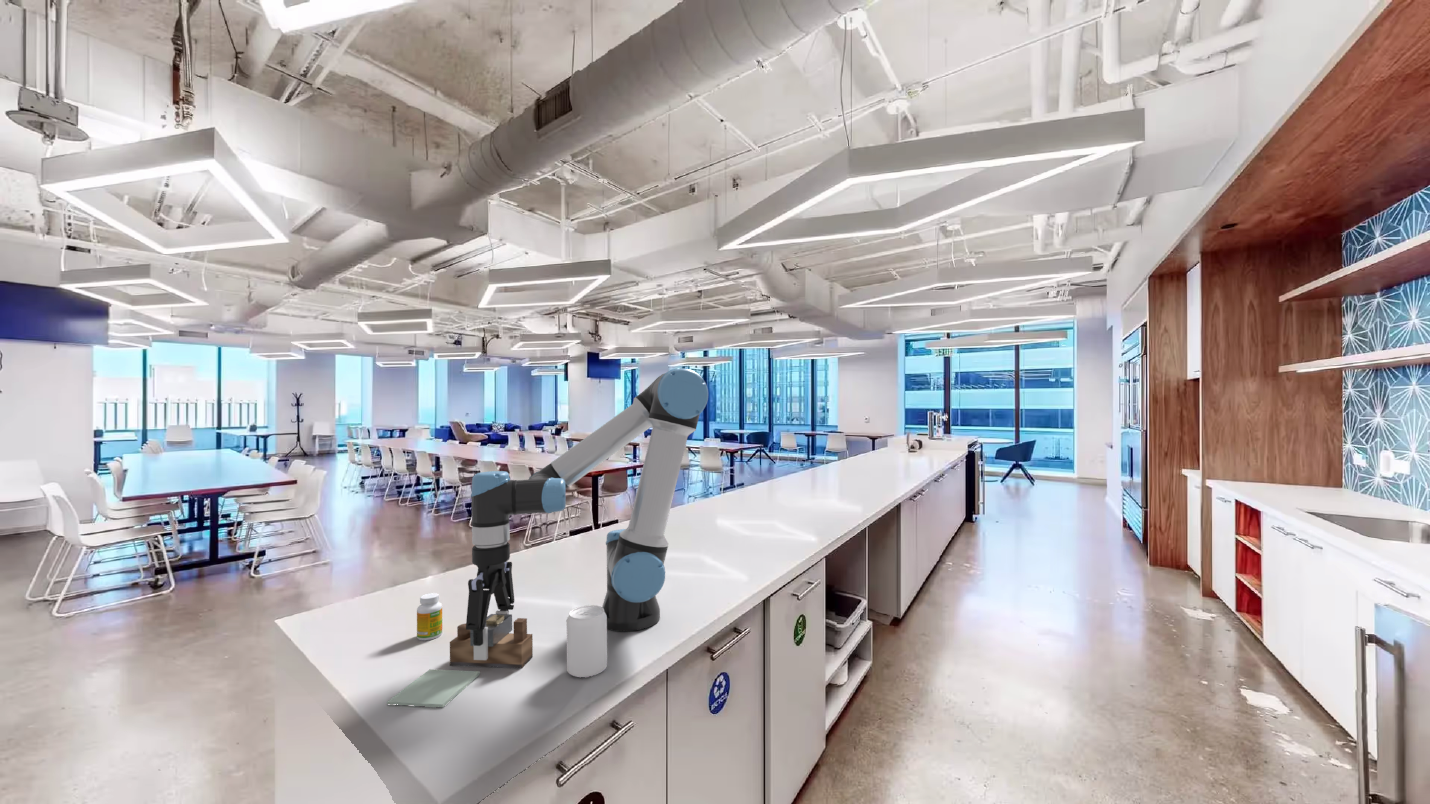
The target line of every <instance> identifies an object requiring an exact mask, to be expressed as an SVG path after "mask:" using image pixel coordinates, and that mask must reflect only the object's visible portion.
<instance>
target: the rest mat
mask: <svg viewBox="0 0 1430 804" xmlns="http://www.w3.org/2000/svg"><path fill="white" fill-rule="evenodd" d="M479 676H481V672H480V671H479V670H478V671H477V670H457V669H456V670H452V669H431V668H430V669H428V670H427V671H425V672H424V673H422V674H421V675H420V676H419V677H418V678H416V679H415V680H414V681H413V682H412V683H410V684H408V685H407V686H406V687H405V688H403V689H402V690H401V691H399V692H398V693H396V694H395V695H394V696H393V697H391V698H390V699H389V700H388V701H387V702H386V705H387V704H396V705H397V704H398V705H414V706H413V707H415V706H425V707H424V708H436V707H443V708H445V707H446V706H447V705H448V704H449V703H450V702H451V701H452V700H453V699H454V698H456V697H457V696H458V695H459V694H460V693H461V692H462V691H463V690H464V689H465V688H466V686H467V687H468V686H469V685H470V684H471V683H473V681H474V680H475V679H476V678H479ZM456 695H457V696H456ZM451 699H452V700H451ZM449 701H450V702H449ZM448 702H449V703H448ZM447 703H448V704H447ZM446 704H447V705H446ZM445 705H446V706H445ZM444 706H445V707H444Z"/></svg>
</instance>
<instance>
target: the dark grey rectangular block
mask: <svg viewBox="0 0 1430 804" xmlns="http://www.w3.org/2000/svg"><path fill="white" fill-rule="evenodd" d="M485 627H488V646H490V647H493V646H494V645H496V644H497V643H498V642H499V641H500V640H501V639H503V638H504V637H505V636H506V635H507V634H508V633H511V632H513V614H510V613H509V614H496V613H490V614H488V615H487V619H486V624H485ZM470 646H474V644H473V630H470Z"/></svg>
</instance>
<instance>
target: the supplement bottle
mask: <svg viewBox="0 0 1430 804" xmlns="http://www.w3.org/2000/svg"><path fill="white" fill-rule="evenodd" d="M439 600H440V594H439V593H437V592H431V593H430V592H429V593H425V594H422V595H421V596H420V597H419V602H420V603H419V604H420V605H419V606H417V608H416V638H417V640H419V641H431V640H435V639H436V638H437V639H438V638H439V637H441V636H442V634H443V603H441V602H440V601H439Z"/></svg>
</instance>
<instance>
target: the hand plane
mask: <svg viewBox="0 0 1430 804" xmlns="http://www.w3.org/2000/svg"><path fill="white" fill-rule="evenodd" d="M456 629H457V630H456V632H457V634H456V635H457V636H456V637H454V638H453V639H451V640H450V641H449V666H453V667H474V668H475V667H477V668H479V667H480V668H499V669H500V668H502V669H523V668H524V666H525V667H526V665H527V663H529V662H530V661H531V659H532V658H533V657H534V656H533V655H534V650H533V648H534V647H533V645H534V644H533V633H528V618H525V617H517V618H516V619H515V620H513V633H511V632H510V633H508V634H507V635H506V636H505V637H504V638H503V639H501V640H500V641H499V642H498V643H497V644H496V645H494V646H493V647H490V646H488V659H487V660H474V646H470V630H466V623H462V624H459V625H458V626H457V627H456Z"/></svg>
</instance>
